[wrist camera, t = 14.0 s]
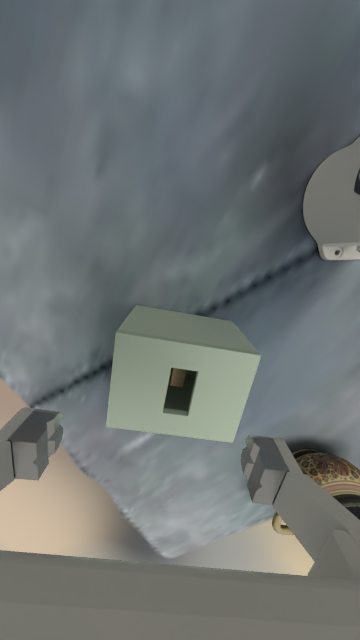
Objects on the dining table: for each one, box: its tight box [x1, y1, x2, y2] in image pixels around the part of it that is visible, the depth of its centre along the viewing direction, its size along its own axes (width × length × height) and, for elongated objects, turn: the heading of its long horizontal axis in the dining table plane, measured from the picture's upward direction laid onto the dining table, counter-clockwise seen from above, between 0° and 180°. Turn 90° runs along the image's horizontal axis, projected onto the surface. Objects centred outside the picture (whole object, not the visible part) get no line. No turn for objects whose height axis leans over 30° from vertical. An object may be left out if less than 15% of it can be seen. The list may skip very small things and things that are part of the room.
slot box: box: [106, 305, 261, 443], centre depth 35 cm, size 18×14×14 cm
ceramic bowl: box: [272, 449, 360, 535], centre depth 45 cm, size 24×18×15 cm
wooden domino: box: [170, 368, 186, 387], centre depth 36 cm, size 2×5×8 cm, turn 170°
